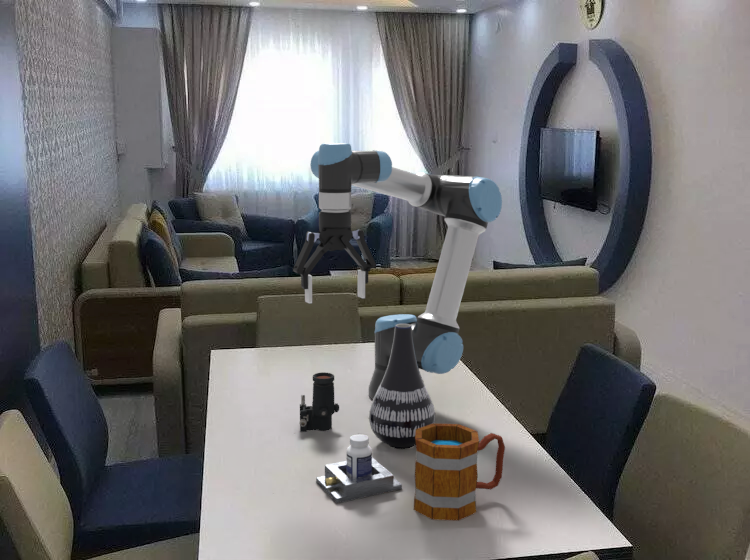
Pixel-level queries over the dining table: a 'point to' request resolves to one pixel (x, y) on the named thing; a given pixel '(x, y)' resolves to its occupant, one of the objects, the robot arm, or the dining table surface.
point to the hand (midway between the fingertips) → (335, 300)
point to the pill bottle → (359, 457)
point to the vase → (401, 396)
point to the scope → (319, 405)
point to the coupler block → (356, 482)
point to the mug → (450, 470)
